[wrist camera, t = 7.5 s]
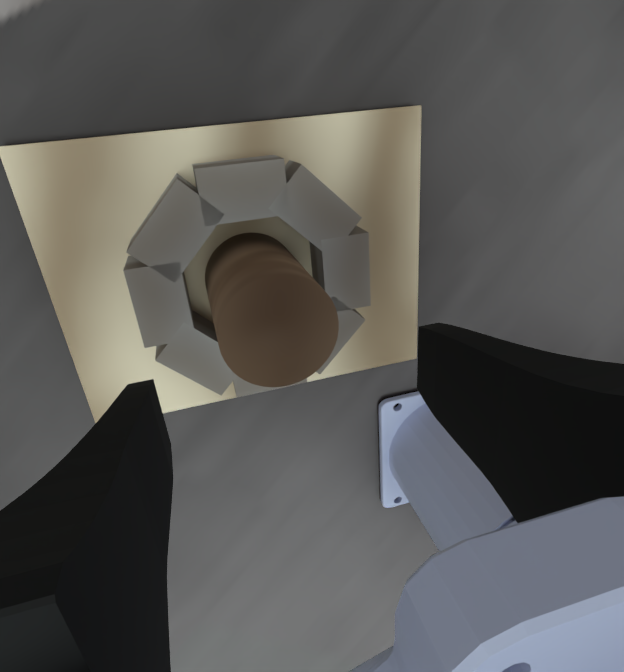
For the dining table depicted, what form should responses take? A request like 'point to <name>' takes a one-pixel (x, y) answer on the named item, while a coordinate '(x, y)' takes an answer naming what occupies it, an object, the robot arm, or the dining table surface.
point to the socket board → (221, 240)
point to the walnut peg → (268, 311)
